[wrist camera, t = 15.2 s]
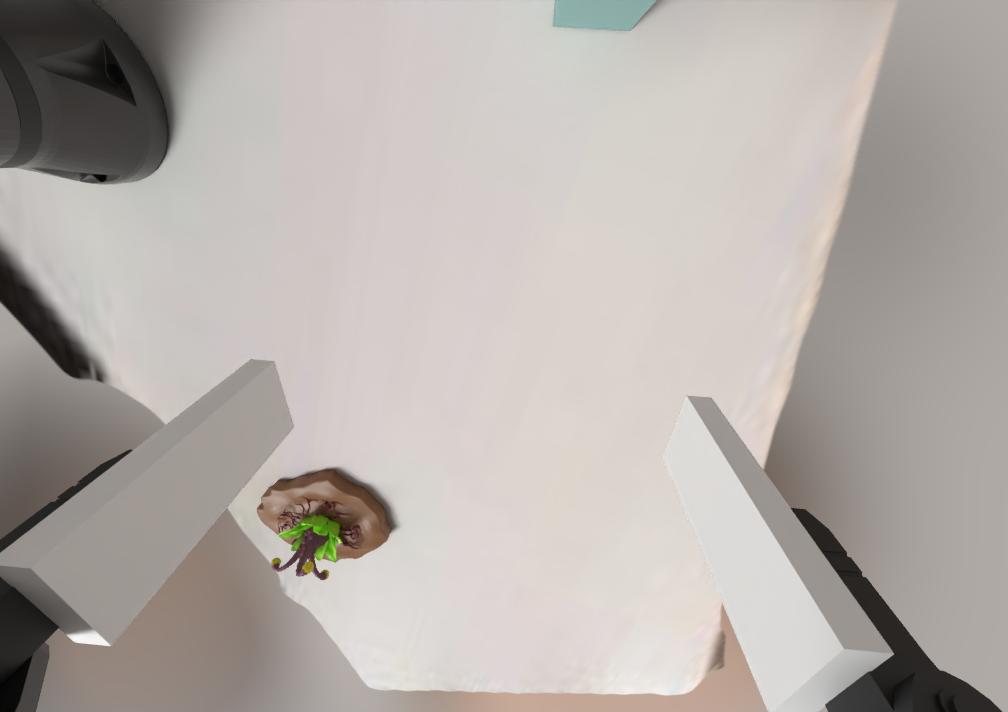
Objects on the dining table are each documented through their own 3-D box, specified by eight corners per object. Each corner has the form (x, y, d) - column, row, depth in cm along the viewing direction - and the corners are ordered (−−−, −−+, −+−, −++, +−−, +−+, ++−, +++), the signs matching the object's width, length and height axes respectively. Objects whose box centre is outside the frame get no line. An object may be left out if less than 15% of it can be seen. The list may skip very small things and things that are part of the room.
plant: (412, 528, 63) (391, 598, 53) (333, 558, 69) (301, 625, 59) (328, 453, 55) (285, 519, 45) (247, 494, 61) (194, 560, 51)
